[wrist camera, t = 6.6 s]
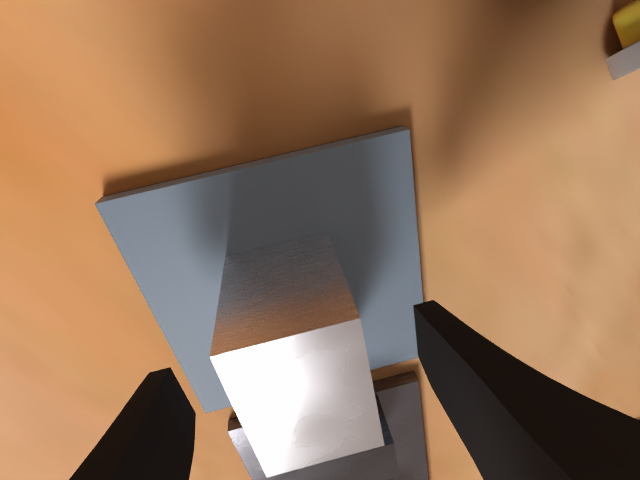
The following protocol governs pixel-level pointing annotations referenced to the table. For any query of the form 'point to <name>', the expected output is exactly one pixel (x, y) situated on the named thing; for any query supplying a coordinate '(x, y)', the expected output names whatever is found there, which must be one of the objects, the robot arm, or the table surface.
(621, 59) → the reed diffuser
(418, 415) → the vise
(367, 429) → the steel block
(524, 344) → the table surface
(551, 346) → the table surface
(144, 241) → the pad
